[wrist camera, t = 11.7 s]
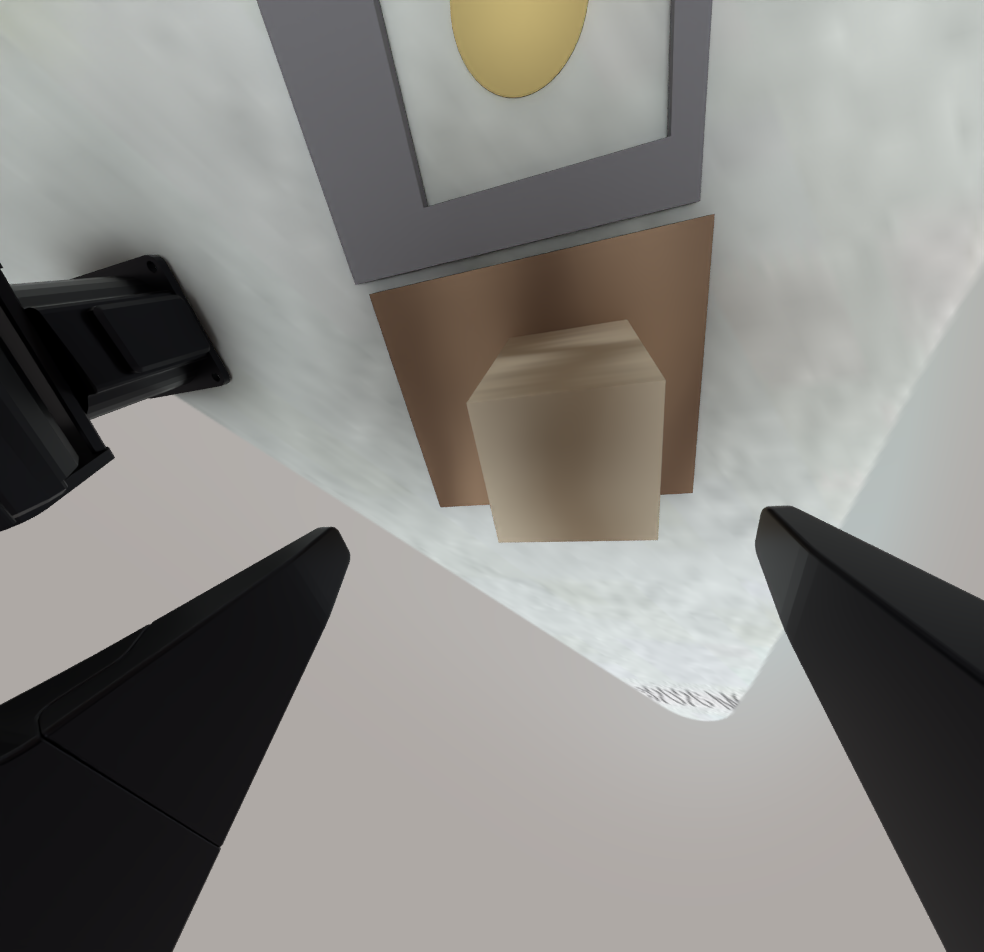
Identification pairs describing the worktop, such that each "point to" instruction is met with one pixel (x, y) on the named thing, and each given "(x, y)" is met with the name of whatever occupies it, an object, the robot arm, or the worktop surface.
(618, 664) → the worktop surface
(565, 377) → the beige wooden block
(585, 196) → the mat
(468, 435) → the board
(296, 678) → the robot arm
